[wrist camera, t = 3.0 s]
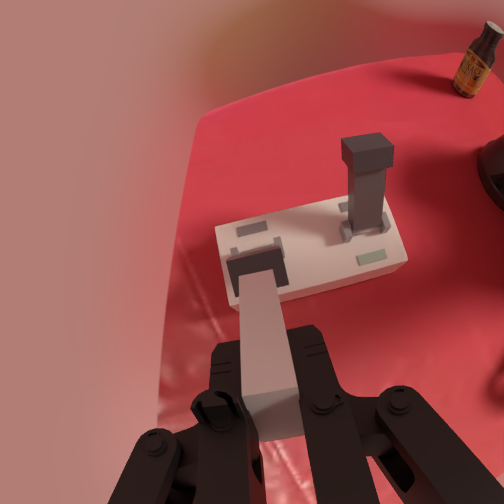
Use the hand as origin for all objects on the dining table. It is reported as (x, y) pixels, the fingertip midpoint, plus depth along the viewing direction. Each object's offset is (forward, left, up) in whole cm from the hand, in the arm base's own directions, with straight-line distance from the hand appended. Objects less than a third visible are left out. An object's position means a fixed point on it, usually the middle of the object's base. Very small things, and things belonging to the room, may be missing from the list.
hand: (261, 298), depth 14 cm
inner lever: (-7, -14, -20) cm, 25 cm away
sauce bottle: (-27, -58, -27) cm, 69 cm away
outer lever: (+4, -7, -19) cm, 21 cm away
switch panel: (-1, -11, -27) cm, 29 cm away
